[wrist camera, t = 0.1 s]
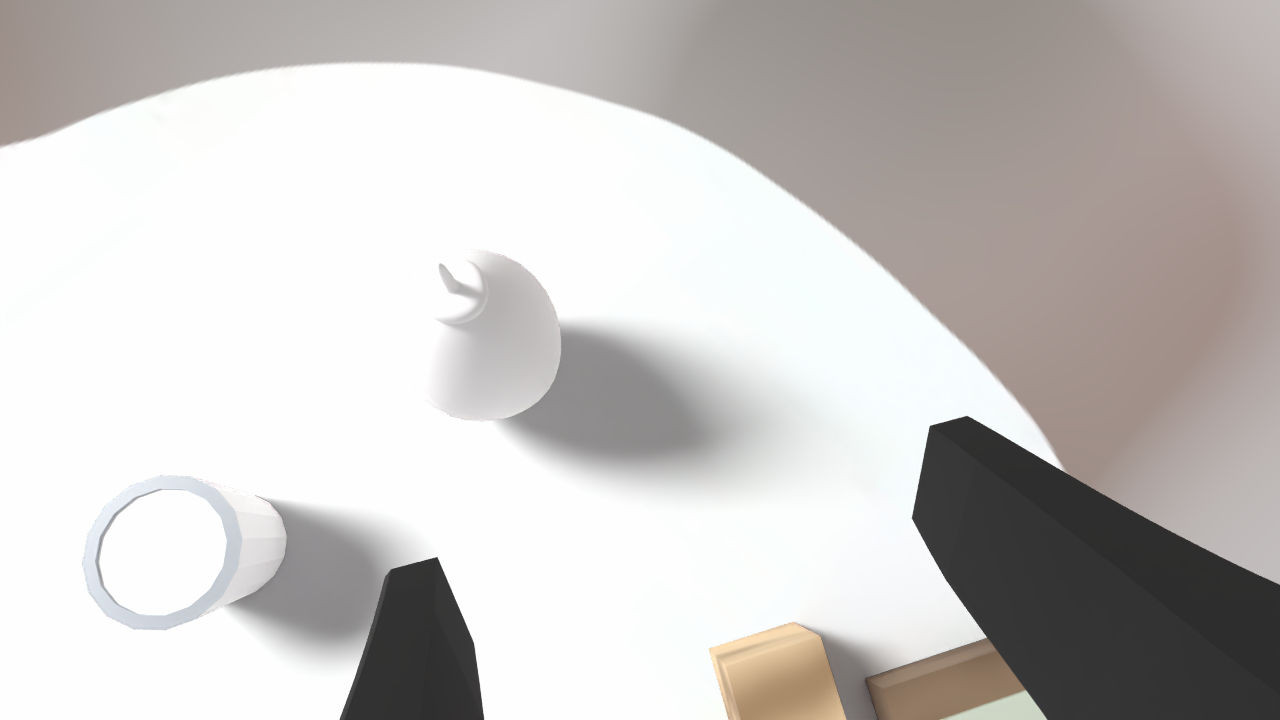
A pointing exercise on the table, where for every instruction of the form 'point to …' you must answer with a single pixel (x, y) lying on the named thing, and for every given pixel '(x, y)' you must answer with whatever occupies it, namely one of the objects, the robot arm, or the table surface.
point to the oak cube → (777, 676)
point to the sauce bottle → (477, 335)
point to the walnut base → (953, 688)
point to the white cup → (180, 551)
